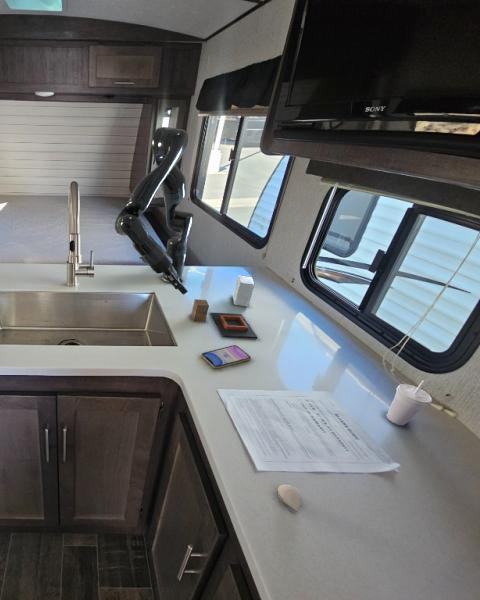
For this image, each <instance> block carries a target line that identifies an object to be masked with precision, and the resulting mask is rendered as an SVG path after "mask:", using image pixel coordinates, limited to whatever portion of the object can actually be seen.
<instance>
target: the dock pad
mask: <svg viewBox="0 0 480 600" xmlns="http://www.w3.org/2000/svg"><path fill="white" fill-rule="evenodd" d="M210 316H211V318H212V319H213V321H214V323H215V325H216V327H217V328H218V331H219V332H220V334H221V336H222V337H223V338H233V339H252V340H257V339H258V335H257V334H256V332H255V331H254V330H253V328H252V327H251V325H250V324H249V323H248V321H247V320H246V319H245V317H244V316H243V314H242V313H228V312H210Z"/></svg>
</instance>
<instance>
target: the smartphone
mask: <svg viewBox="0 0 480 600" xmlns="http://www.w3.org/2000/svg"><path fill="white" fill-rule="evenodd" d="M200 355H201V357H202V358H203V360H205V361H206V362H207V363H208V364H209V365H210V366H211V368H213V369H220V368H225V367H229V366H232V365H236V364H240V363H243V362H247V361H251V359H252V357H251V356H250V355H249V354H248V353H247V352H245V351H244V350H243V349H242V348H240V347H239V346H238V345H236V344H234V345H230V346H225V347H222V348H217V349H213V350H209V351H205V352H202V353H201V354H200Z"/></svg>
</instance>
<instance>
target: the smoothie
mask: <svg viewBox="0 0 480 600" xmlns="http://www.w3.org/2000/svg"><path fill="white" fill-rule="evenodd" d="M426 382H427V381H426V380H425V379H422V380H421V382H420V383H419V384H418V386H415V385H412V384H408V383H400V384H399V385H397V387H396V389H395V390H396V392H395V395H394V397H393V399H392V402H391V404H390V407H389V409H388V411H387V414H386V418H387V420H388V421H390V422H391V423H393V424H395V425H397V426H405V425H407V424H408V422H409V421H410V420H412V419H413V418H414V417H415V416H416V415H417V414H418V413H420V411H421V410H422V409H424V408H425V407H426V406H429V405H431V403H432V402H433V397H432V396H431V395H430V394H429V393H428V392H427V391H425V390H423V389H422V387H423V386H424V385H425V384H426Z"/></svg>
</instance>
